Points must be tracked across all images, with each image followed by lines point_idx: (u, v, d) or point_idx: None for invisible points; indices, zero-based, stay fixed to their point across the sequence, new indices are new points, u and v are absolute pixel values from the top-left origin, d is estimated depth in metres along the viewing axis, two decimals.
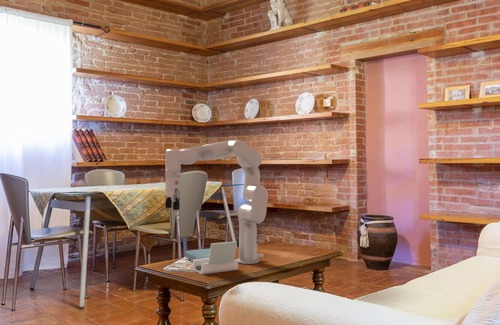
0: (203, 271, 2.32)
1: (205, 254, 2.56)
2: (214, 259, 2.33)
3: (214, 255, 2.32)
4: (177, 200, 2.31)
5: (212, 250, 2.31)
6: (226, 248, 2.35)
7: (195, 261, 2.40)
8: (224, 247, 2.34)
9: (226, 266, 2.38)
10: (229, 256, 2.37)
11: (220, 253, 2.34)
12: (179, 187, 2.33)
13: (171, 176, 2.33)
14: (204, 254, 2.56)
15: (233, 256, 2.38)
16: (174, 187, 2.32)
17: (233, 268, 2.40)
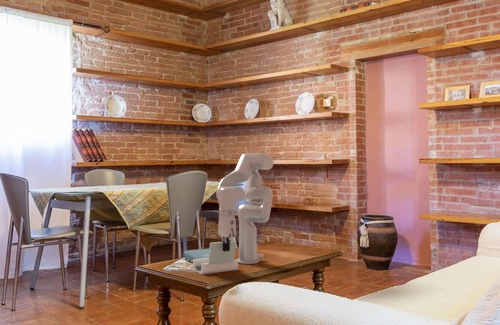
0: (203, 271, 2.32)
1: (203, 254, 2.56)
2: (214, 259, 2.33)
3: (214, 254, 2.33)
4: (228, 241, 2.30)
5: (212, 249, 2.31)
6: None
7: (195, 261, 2.40)
8: None
9: (226, 266, 2.38)
10: (228, 256, 2.37)
11: (219, 253, 2.34)
12: (234, 227, 2.29)
13: (226, 216, 2.28)
14: (202, 254, 2.56)
15: (233, 256, 2.38)
16: (229, 227, 2.27)
17: (233, 268, 2.40)
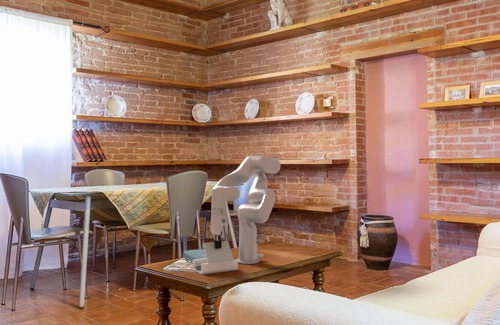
0: (203, 271, 2.32)
1: (203, 254, 2.56)
2: (212, 257, 2.35)
3: (210, 253, 2.36)
4: (220, 239, 2.37)
5: (206, 248, 2.36)
6: None
7: (195, 261, 2.40)
8: None
9: (226, 266, 2.38)
10: (226, 254, 2.39)
11: (215, 252, 2.37)
12: (226, 225, 2.35)
13: (218, 214, 2.35)
14: (202, 254, 2.56)
15: (230, 254, 2.41)
16: (221, 225, 2.34)
17: (233, 268, 2.40)
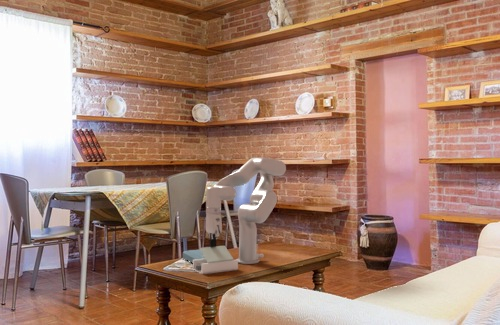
0: (203, 271, 2.32)
1: (202, 254, 2.56)
2: (211, 258, 2.36)
3: (209, 255, 2.37)
4: (214, 238, 2.42)
5: (204, 252, 2.38)
6: (217, 249, 2.43)
7: (195, 261, 2.40)
8: (214, 249, 2.42)
9: (226, 266, 2.38)
10: (225, 255, 2.40)
11: (214, 253, 2.39)
12: (220, 224, 2.40)
13: (212, 213, 2.40)
14: (201, 254, 2.56)
15: (229, 255, 2.41)
16: (215, 224, 2.39)
17: (233, 268, 2.40)
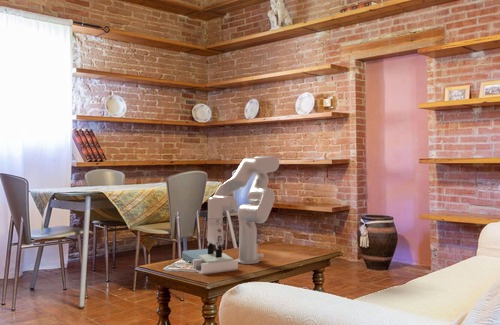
0: (203, 271, 2.32)
1: (201, 254, 2.55)
2: (210, 259, 2.36)
3: (208, 258, 2.38)
4: (220, 248, 2.36)
5: (203, 256, 2.39)
6: None
7: (195, 261, 2.40)
8: (213, 255, 2.44)
9: (226, 266, 2.38)
10: (224, 257, 2.41)
11: (213, 257, 2.40)
12: (222, 234, 2.38)
13: (214, 224, 2.38)
14: (200, 254, 2.55)
15: (228, 257, 2.42)
16: (217, 235, 2.37)
17: (233, 268, 2.40)
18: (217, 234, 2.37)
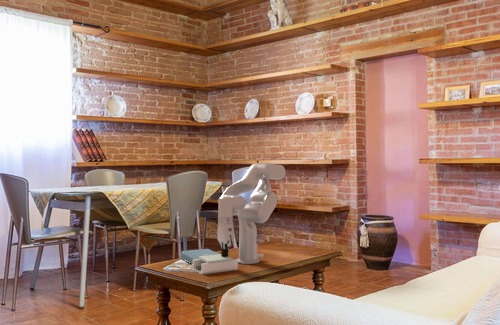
0: (203, 271, 2.32)
1: (200, 254, 2.55)
2: (210, 259, 2.36)
3: (208, 258, 2.38)
4: (226, 247, 2.42)
5: (203, 257, 2.39)
6: (216, 256, 2.44)
7: (195, 261, 2.40)
8: (212, 256, 2.44)
9: (226, 266, 2.38)
10: (224, 257, 2.41)
11: (213, 257, 2.40)
12: (232, 234, 2.40)
13: (225, 223, 2.40)
14: (199, 254, 2.55)
15: (228, 257, 2.42)
16: (228, 234, 2.39)
17: (233, 268, 2.40)
18: (228, 233, 2.39)
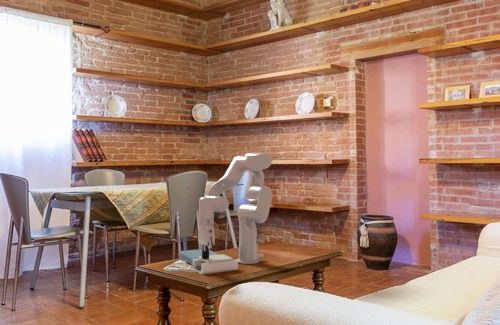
0: (203, 271, 2.32)
1: (199, 255, 2.55)
2: (210, 259, 2.36)
3: None
4: (207, 250, 2.36)
5: None
6: (216, 256, 2.44)
7: (195, 261, 2.40)
8: (212, 256, 2.44)
9: (226, 266, 2.38)
10: (224, 257, 2.41)
11: (213, 258, 2.40)
12: (213, 235, 2.35)
13: (205, 224, 2.34)
14: (198, 255, 2.55)
15: (228, 257, 2.42)
16: (208, 235, 2.33)
17: (233, 268, 2.40)
18: (208, 235, 2.33)
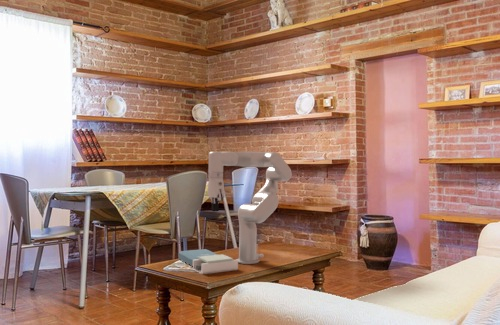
0: (203, 271, 2.32)
1: (198, 255, 2.54)
2: (210, 259, 2.36)
3: (208, 258, 2.38)
4: (217, 202, 2.44)
5: (203, 258, 2.39)
6: (216, 256, 2.44)
7: (195, 261, 2.40)
8: (212, 256, 2.44)
9: (226, 266, 2.38)
10: (224, 257, 2.41)
11: (213, 258, 2.40)
12: (222, 188, 2.43)
13: (215, 177, 2.42)
14: (197, 255, 2.54)
15: (228, 257, 2.42)
16: (218, 188, 2.41)
17: (233, 268, 2.40)
18: (218, 187, 2.41)
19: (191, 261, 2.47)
